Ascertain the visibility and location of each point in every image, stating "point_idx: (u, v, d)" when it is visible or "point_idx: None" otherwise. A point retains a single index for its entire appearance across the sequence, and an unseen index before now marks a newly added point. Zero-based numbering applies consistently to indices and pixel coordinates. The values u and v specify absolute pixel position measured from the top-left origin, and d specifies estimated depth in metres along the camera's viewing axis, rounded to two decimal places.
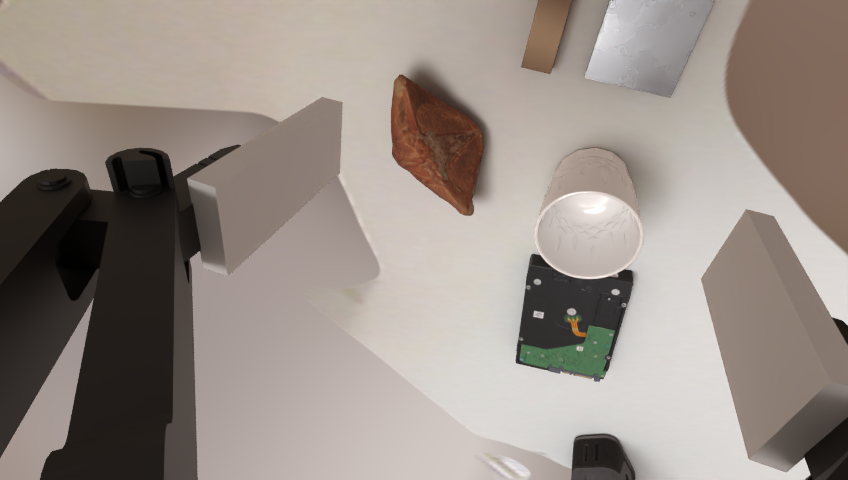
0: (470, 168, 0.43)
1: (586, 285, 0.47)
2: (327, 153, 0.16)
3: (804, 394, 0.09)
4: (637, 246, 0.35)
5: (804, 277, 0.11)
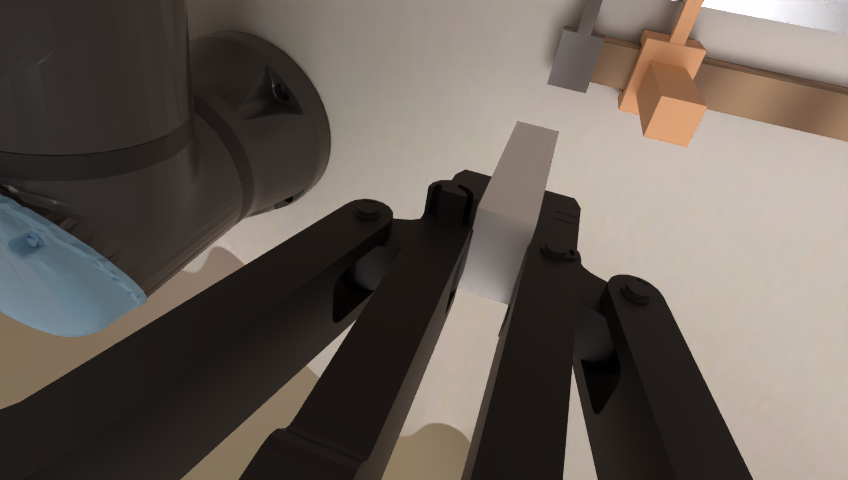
0: None
1: None
2: None
3: None
4: None
5: (546, 165, 0.14)
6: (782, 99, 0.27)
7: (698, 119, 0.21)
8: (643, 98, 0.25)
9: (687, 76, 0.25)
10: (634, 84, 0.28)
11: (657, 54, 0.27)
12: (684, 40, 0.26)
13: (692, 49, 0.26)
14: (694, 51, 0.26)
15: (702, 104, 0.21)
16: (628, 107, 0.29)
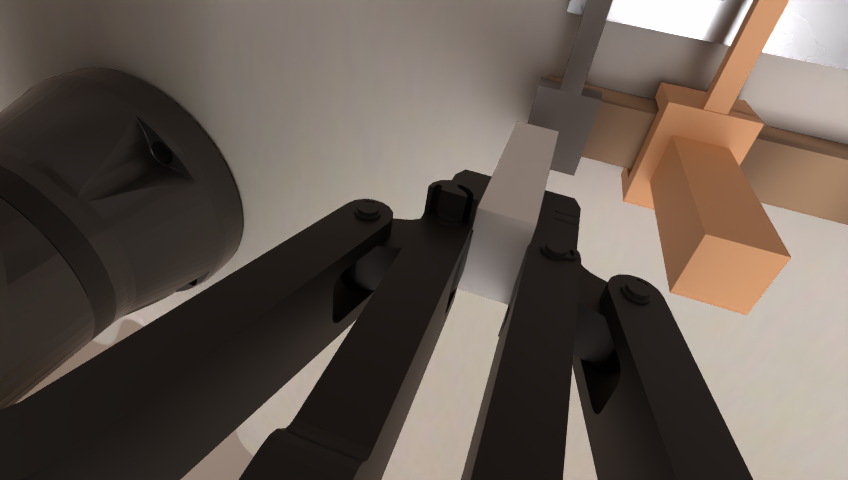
0: None
1: None
2: None
3: None
4: None
5: (546, 165, 0.14)
6: None
7: (771, 276, 0.12)
8: (664, 202, 0.16)
9: (735, 169, 0.16)
10: (647, 167, 0.18)
11: (684, 126, 0.17)
12: (728, 107, 0.16)
13: (740, 120, 0.16)
14: (743, 124, 0.16)
15: (780, 251, 0.12)
16: (638, 198, 0.19)
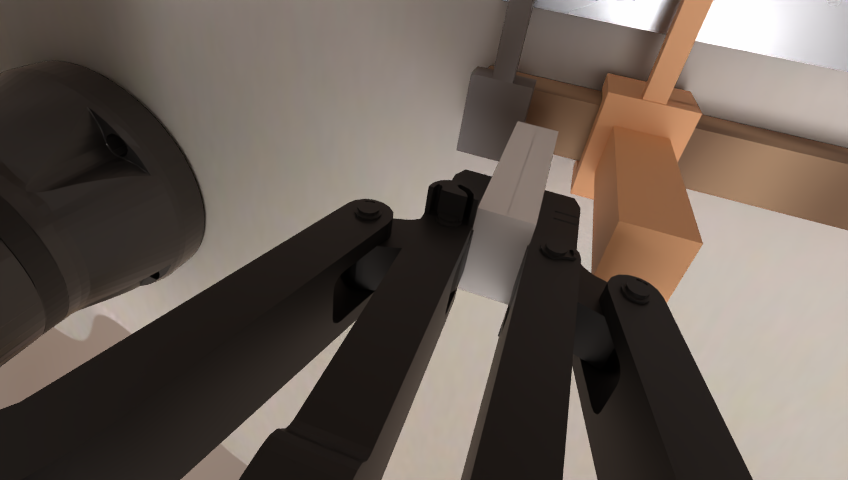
0: None
1: None
2: None
3: None
4: None
5: (546, 165, 0.14)
6: (808, 181, 0.17)
7: (686, 263, 0.12)
8: (600, 192, 0.16)
9: (670, 158, 0.15)
10: (591, 158, 0.18)
11: (624, 116, 0.17)
12: (666, 96, 0.16)
13: (678, 110, 0.16)
14: (682, 114, 0.16)
15: (693, 238, 0.12)
16: (584, 190, 0.19)
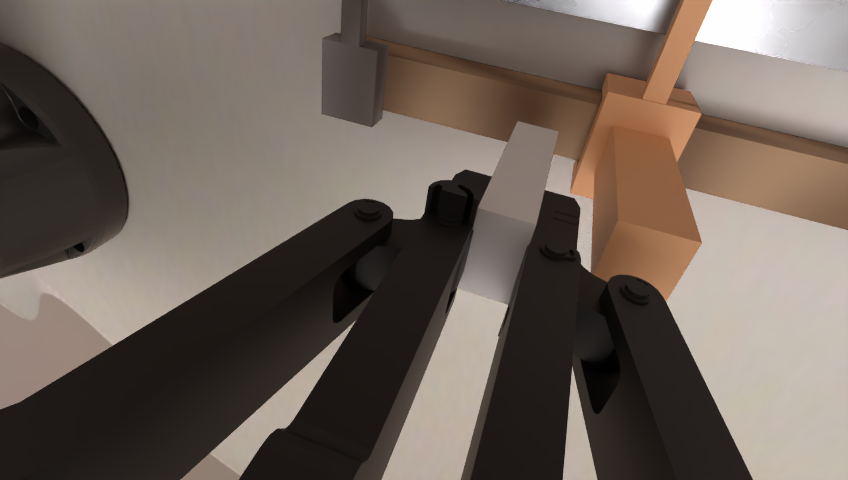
0: None
1: None
2: None
3: None
4: None
5: (546, 165, 0.14)
6: None
7: (685, 262, 0.12)
8: (599, 192, 0.16)
9: (670, 158, 0.15)
10: (591, 158, 0.18)
11: (624, 116, 0.17)
12: (666, 96, 0.16)
13: (678, 110, 0.16)
14: (682, 113, 0.16)
15: (692, 237, 0.12)
16: (584, 190, 0.19)
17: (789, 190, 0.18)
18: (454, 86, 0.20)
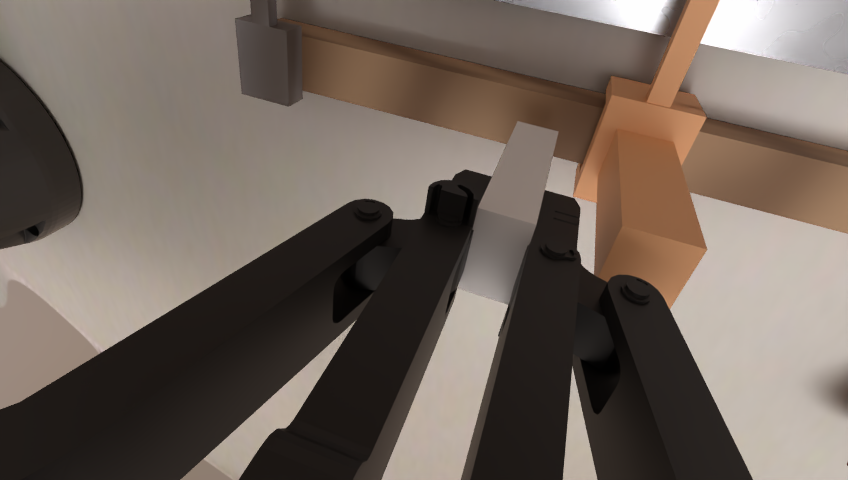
0: None
1: None
2: None
3: None
4: None
5: (546, 165, 0.14)
6: (537, 117, 0.19)
7: (690, 268, 0.12)
8: (603, 196, 0.16)
9: (674, 162, 0.15)
10: (594, 161, 0.18)
11: (628, 119, 0.17)
12: (670, 100, 0.16)
13: (682, 114, 0.16)
14: (686, 117, 0.16)
15: (697, 244, 0.11)
16: (587, 193, 0.19)
17: (681, 166, 0.18)
18: (365, 66, 0.20)
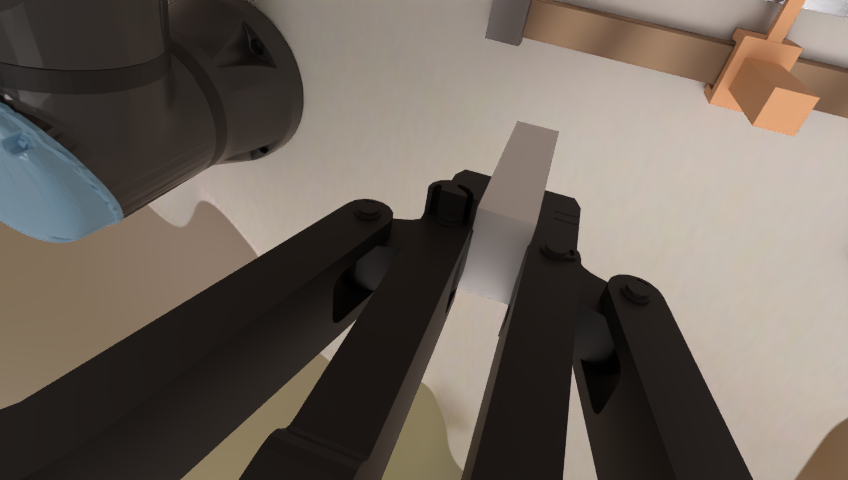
0: None
1: None
2: None
3: None
4: None
5: (546, 165, 0.14)
6: (687, 53, 0.30)
7: (809, 110, 0.23)
8: (743, 91, 0.27)
9: (786, 72, 0.27)
10: (727, 79, 0.29)
11: (753, 51, 0.28)
12: (782, 38, 0.28)
13: (788, 46, 0.28)
14: (791, 49, 0.28)
15: (814, 96, 0.23)
16: (719, 101, 0.30)
17: None
18: (573, 20, 0.32)
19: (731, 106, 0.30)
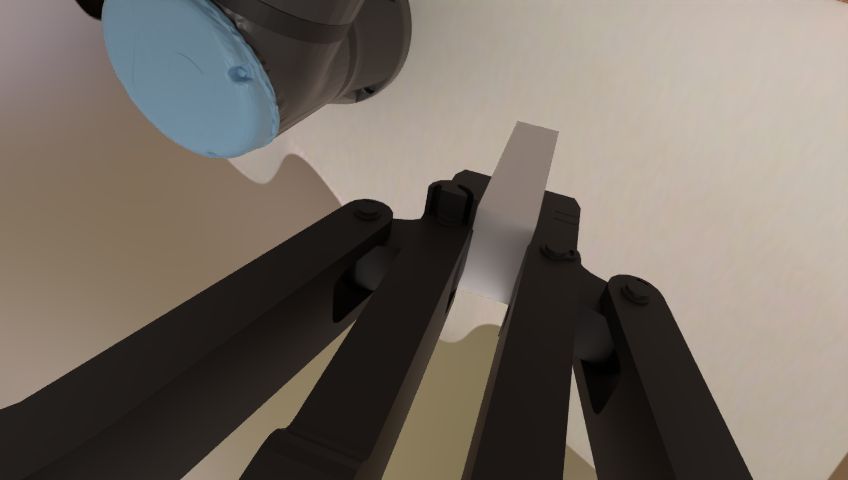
0: None
1: None
2: None
3: None
4: None
5: (546, 165, 0.14)
6: None
7: None
8: None
9: None
10: None
11: None
12: None
13: None
14: None
15: None
16: None
17: None
18: None
19: None
